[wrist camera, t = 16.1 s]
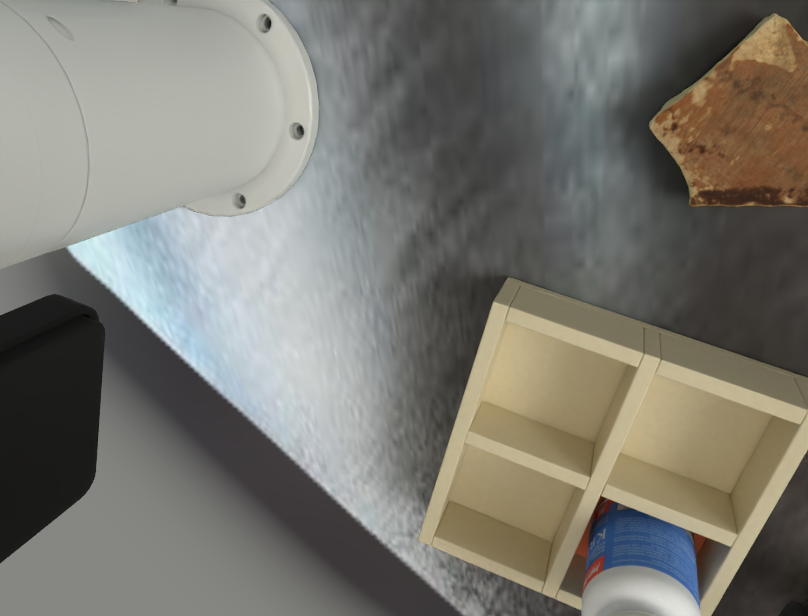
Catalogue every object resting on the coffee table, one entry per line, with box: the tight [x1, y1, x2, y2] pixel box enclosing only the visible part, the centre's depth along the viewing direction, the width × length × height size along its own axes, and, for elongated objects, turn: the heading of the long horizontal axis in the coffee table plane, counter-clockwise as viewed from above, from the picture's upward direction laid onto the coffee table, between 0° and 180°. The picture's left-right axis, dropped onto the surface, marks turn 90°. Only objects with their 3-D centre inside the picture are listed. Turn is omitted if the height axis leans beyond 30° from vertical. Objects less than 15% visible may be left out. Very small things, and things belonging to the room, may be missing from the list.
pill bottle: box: [581, 499, 701, 616], centre depth 35 cm, size 6×5×10 cm
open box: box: [418, 277, 808, 616], centre depth 37 cm, size 15×15×4 cm
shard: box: [649, 13, 808, 207], centre depth 31 cm, size 11×8×2 cm
